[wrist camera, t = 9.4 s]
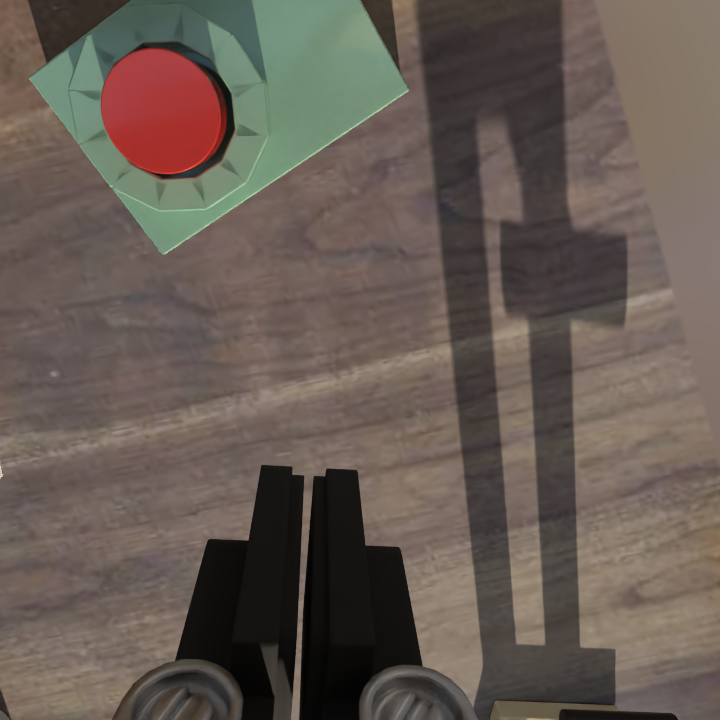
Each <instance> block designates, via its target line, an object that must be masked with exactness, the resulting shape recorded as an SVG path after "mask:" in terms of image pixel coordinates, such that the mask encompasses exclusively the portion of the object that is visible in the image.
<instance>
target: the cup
mask: <svg viewBox="0 0 720 720" xmlns="http://www.w3.org/2000/svg"><path fill="white" fill-rule="evenodd" d="M0 720H10V719H9V718H8V716H7V715H6V714H5V713H3V712H2V711H1V710H0Z"/></svg>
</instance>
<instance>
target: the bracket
mask: <svg viewBox="0 0 720 720" xmlns="http://www.w3.org/2000/svg"><path fill="white" fill-rule="evenodd" d="M561 709H578V710H603V711H618V709H617V707H616V705H595V704H571V703H547V702H523V701H498V700H495V701H494V705H493V709H492V712H491V716H490V720H559V713H560V710H561Z"/></svg>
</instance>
